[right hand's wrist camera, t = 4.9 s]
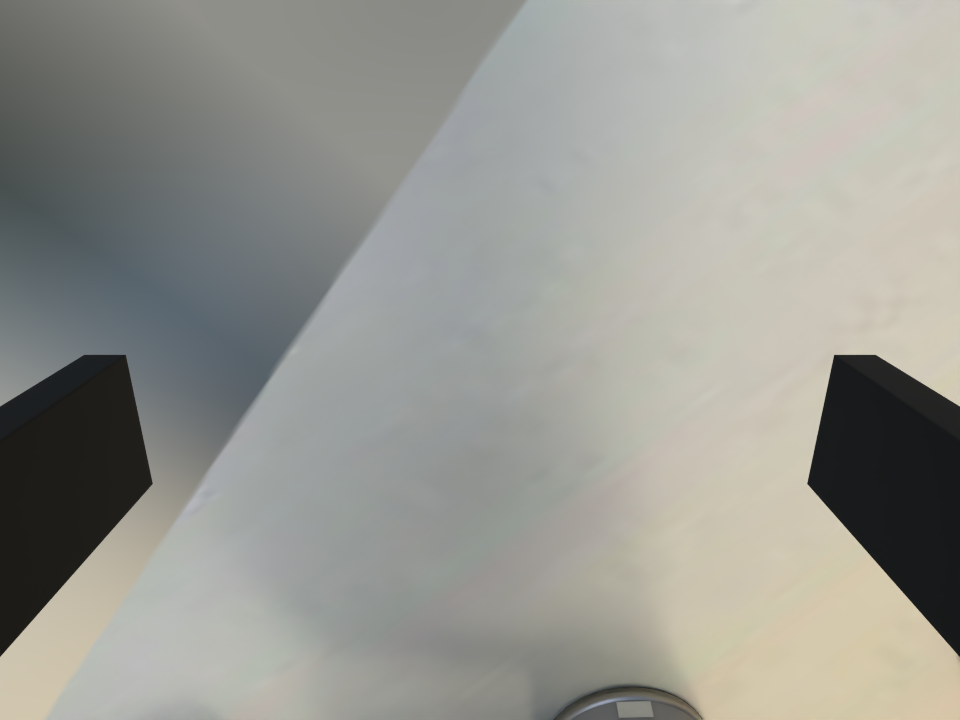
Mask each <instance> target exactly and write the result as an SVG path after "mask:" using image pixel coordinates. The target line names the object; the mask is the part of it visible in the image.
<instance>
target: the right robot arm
mask: <svg viewBox="0 0 960 720" xmlns="http://www.w3.org/2000/svg"><path fill="white" fill-rule="evenodd" d="M152 484H153V483H152V479H151V474H150V469H149V464H148V460H147V455H146V450H145V445H144V440H143V435H142V431H141V426H140V421H139V416H138V411H137V407H136V402H135V397H134V392H133V388H132V383H131V378H130V373H129V368H128V364H127V359H126V355H84V356H82V357H80V358H79V359H77V360H75V361H74V362H72V363H70V364H69V365H67V366H66V367H64V368H62V369H61V370H59V371H57V372H56V373H54V374H53V375H51V376H49V377H48V378H46V379H44V380H43V381H41V382H39V383H38V384H36V385H35V386H33V387H31V388H30V389H28V390H26V391H25V392H23V393H22V394H20V395H18V396H17V397H15V398H13V399H12V400H10V401H8V402H7V403H5V404H4V405H2V406H0V656H1V655H2V654H3V653H4V652H5V651H6V650H7V648H8V647H9V646H10V645H11V644H12V643H13V642H14V641H15V639H16V638H17V637H18V636H19V635H20V634H21V633H22V631H23V630H24V629H25V628H26V627H27V626H28V625H29V624H30V622H31V621H32V620H33V619H34V618H35V617H36V616H37V614H38V613H39V612H40V611H41V610H42V609H43V608H44V606H45V605H46V604H47V603H48V602H49V601H50V600H51V599H52V597H53V596H54V595H55V594H56V593H57V592H58V591H59V589H60V588H61V587H62V586H63V585H64V584H65V583H66V582H67V580H68V579H69V578H70V577H71V576H72V575H73V574H74V572H75V571H76V570H77V569H78V568H79V567H80V566H81V564H82V563H83V562H84V561H85V560H86V559H87V558H88V557H89V555H90V554H91V553H92V552H93V551H94V550H95V549H96V547H97V546H98V545H99V544H100V543H101V542H102V541H103V540H104V538H105V537H106V536H107V535H108V534H109V533H110V532H111V530H112V529H113V528H114V527H115V526H116V525H117V524H118V523H119V521H120V520H121V519H122V518H123V517H124V516H125V515H126V513H127V512H128V511H129V510H130V509H131V508H132V507H133V506H134V504H135V503H136V502H137V501H138V500H139V499H140V497H141V496H142V495H143V494H144V493H145V492H146V491H147V490H148V488H149V487H150V486H151V485H152ZM807 484H808V485H809V486H810V487H811V488H812V490H813V491H814V492H815V493H816V494H817V495H818V496H819V498H820V499H821V500H822V501H823V502H824V503H825V504H826V506H827V507H828V508H829V509H830V510H831V511H832V512H833V513H834V515H835V516H836V517H837V518H838V519H839V520H840V521H841V523H842V524H843V525H844V526H845V527H846V528H847V529H848V530H849V532H850V533H851V534H852V535H853V536H854V537H855V538H856V540H857V541H858V542H859V543H860V544H861V545H862V546H863V547H864V549H865V550H866V551H867V552H868V553H869V554H870V555H871V557H872V558H873V559H874V560H875V561H876V562H877V563H878V565H879V566H880V567H881V568H882V569H883V570H884V571H885V572H886V574H887V575H888V576H889V577H890V578H891V579H892V580H893V582H894V583H895V584H896V585H897V586H898V587H899V588H900V589H901V591H902V592H903V593H904V594H905V595H906V596H907V597H908V599H909V600H910V601H911V602H912V603H913V604H914V605H915V606H916V608H917V609H918V610H919V611H920V612H921V613H922V614H923V616H924V617H925V618H926V619H927V620H928V621H929V622H930V624H931V625H932V626H933V627H934V628H935V629H936V630H937V631H938V633H939V634H940V635H941V636H942V637H943V638H944V639H945V641H946V642H947V643H948V644H949V645H950V646H951V647H952V648H953V650H954V651H955V652H956V653H957V654H958V655H959V656H960V406H958V405H956V404H955V403H953V402H951V401H950V400H948V399H947V398H945V397H943V396H942V395H940V394H938V393H937V392H935V391H934V390H932V389H930V388H929V387H927V386H925V385H924V384H922V383H921V382H919V381H917V380H916V379H914V378H912V377H911V376H909V375H907V374H906V373H904V372H903V371H901V370H899V369H898V368H896V367H894V366H893V365H891V364H890V363H888V362H886V361H885V360H883V359H881V358H880V357H878V356H876V355H834V359H833V364H832V368H831V373H830V378H829V383H828V388H827V392H826V397H825V402H824V407H823V411H822V416H821V421H820V426H819V431H818V435H817V440H816V445H815V450H814V455H813V459H812V464H811V469H810V474H809V478H808V483H807ZM555 720H702V719H701V717H700V716H699V715H698V713H697V712H696V711H695V710H694V709H693V708H692V707H691V706H689V705H688V704H687V703H685V702H684V701H682V700H681V699H679V698H677V697H675V696H673V695H670V694H668V693H665V692H662V691H658V690H653V689H648V688H636V687H627V688H616V689H610V690H605V691H601V692H598V693H595V694H592V695H589V696H587V697H584V698H582V699H580V700H579V701H577V702H575V703H573V704H572V705H570V706H569V707H567V708H566V709H565V710H564V711H562V712H561V713H560V714H559V715H558V716H557V717H556V719H555Z"/></svg>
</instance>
